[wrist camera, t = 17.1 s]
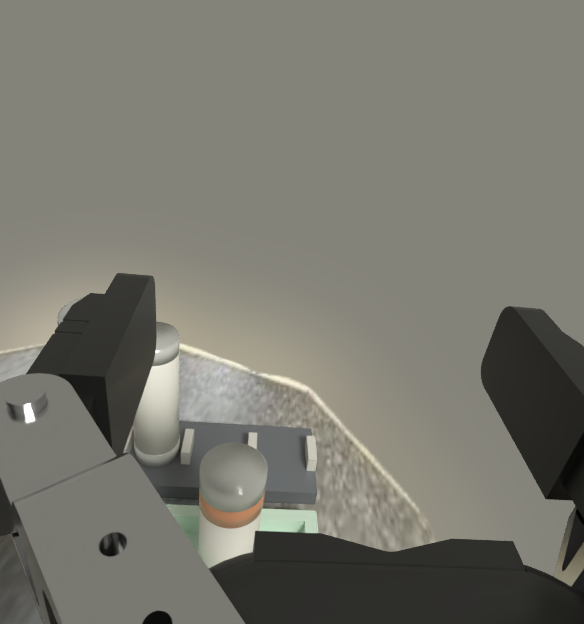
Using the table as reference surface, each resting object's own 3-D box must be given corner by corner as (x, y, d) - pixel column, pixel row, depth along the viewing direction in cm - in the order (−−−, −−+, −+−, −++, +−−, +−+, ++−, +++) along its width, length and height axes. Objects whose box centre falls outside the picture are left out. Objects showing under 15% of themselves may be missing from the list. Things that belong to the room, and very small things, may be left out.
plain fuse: (129, 466, 45) (120, 348, 38) (140, 433, 49) (133, 320, 42) (175, 468, 46) (174, 352, 39) (182, 435, 49) (182, 323, 42)
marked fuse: (193, 616, 35) (195, 493, 29) (200, 561, 39) (204, 440, 32) (251, 618, 36) (267, 497, 29) (253, 563, 39) (268, 444, 32)
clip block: (112, 494, 44) (109, 471, 43) (133, 429, 51) (131, 406, 49) (314, 504, 46) (319, 482, 44) (309, 439, 53) (313, 418, 51)
